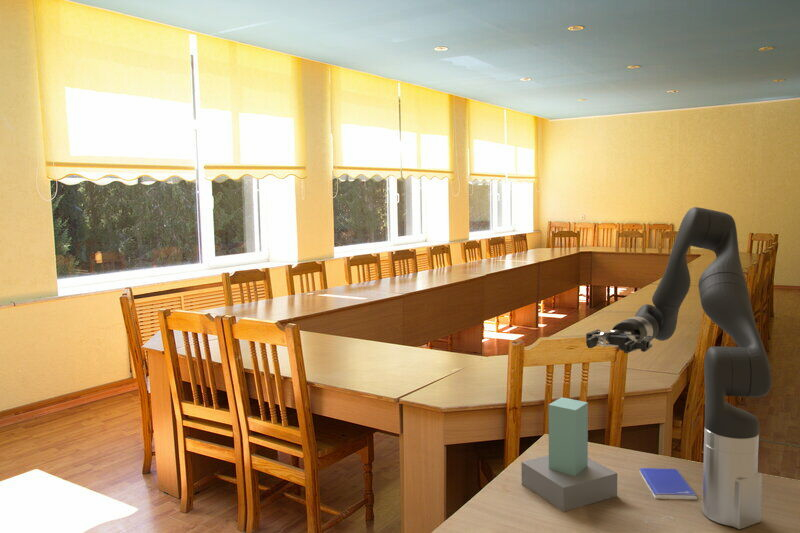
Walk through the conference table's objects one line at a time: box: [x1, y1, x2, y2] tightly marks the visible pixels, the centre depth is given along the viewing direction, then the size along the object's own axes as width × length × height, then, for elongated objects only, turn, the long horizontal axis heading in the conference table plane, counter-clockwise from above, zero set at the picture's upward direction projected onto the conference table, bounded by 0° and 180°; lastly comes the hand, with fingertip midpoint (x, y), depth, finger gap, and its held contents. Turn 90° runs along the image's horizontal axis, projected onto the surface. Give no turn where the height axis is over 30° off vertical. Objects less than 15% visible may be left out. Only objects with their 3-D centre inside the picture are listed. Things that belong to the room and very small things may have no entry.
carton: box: [548, 396, 589, 476], centre depth 134 cm, size 6×6×14 cm
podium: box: [521, 454, 618, 513], centre depth 135 cm, size 14×14×5 cm
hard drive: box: [639, 467, 698, 500], centre depth 136 cm, size 2×8×12 cm
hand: (606, 346), depth 144 cm, fingers open, 8 cm apart
